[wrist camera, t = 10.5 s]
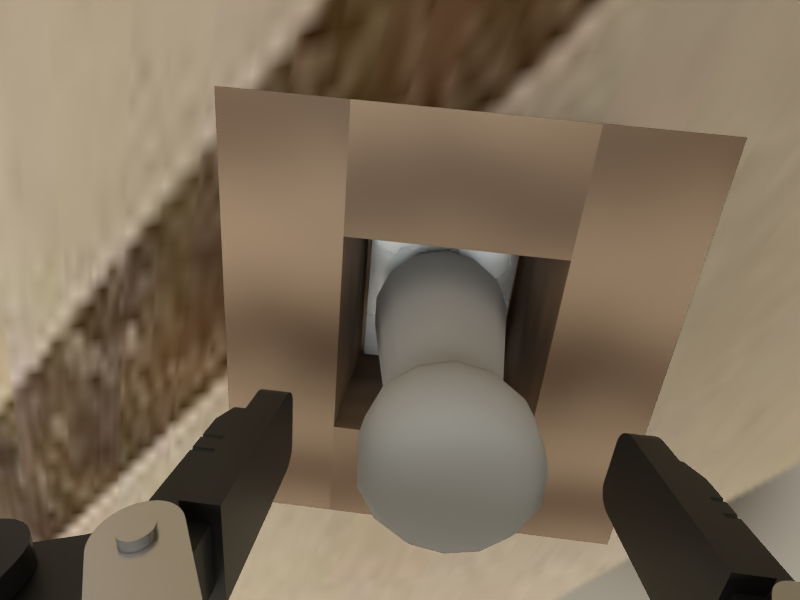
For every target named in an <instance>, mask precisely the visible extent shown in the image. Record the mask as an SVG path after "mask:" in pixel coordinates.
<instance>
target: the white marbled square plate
mask: <svg viewBox="0 0 800 600" xmlns="http://www.w3.org/2000/svg"><path fill="white" fill-rule="evenodd" d="M443 250H447V251H450V252H453V253H457V254H460V255H463V256H467V257H470V258H473V259H475V260H476V261H477V262H478V263H479V264H480V265H481V266H482V267H483V268H485V269H486V270H487V271H488V272H489V273H490V274H491V275H492V276H493V277H494V278H495V279H496V280H497V281H498V283H499V286H500V289H501V292H502V295H503V298H504V301H505V304H506V307H507V309H506V315H507V310H508V305H509V299H510V294H511V289H512V284H513V279H514V273H515V268H516V263H517V258H518V255H512V254H502V253H493V252H484V251H474V250H465V249H456V248H446V247H437V246H427V245H418V244H409V243H399V242H390V241H381V240H372V251H371V265H370V278H369V292H368V305H367V319H366V333H365V346H364V354H371V355H379V353H378V345H377V337H376V329H375V314H376V297H377V295H378V293H379V292H380V290H381V288H382V286H383V284H384V283H385V281H386V279H387V277H388V276H389V274H390V272H391V271H392V270H394V269H395V268H397V267H398V266H400V265H401V264H403V263H404V262H406V261H407V260H409V259H410V258H412V257H413V256H415V255H416V254H423V253H429V252H436V251H443Z"/></svg>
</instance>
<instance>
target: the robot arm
mask: <svg viewBox="0 0 800 600" xmlns="http://www.w3.org/2000/svg"><path fill="white" fill-rule="evenodd" d="M292 434H293V397H292V393H291V392H283V391H275V390H266V389H260V390H259V391H258V392H257V393H256V395H255V396H254V397H253V399H252V400H251V401H250V403H249V404H248V405H247V407H246V408H240V407H234V408H232V409H230V410H229V411H227V412H226V413H224V414H222V415H221V416H219V417H218V418H216V419H215V420H214V421H213V423H212V424H211V425H210V426H209V428H208V429H207V430H206V431H205V432H204V434H203V437H200V439H199V440H198V441H197V442H196V443H195V445H194V446H193V449H192V450H190V451H189V452H188V453H187V454H186V456H185V457H184V458H183V459H182V461H181V462H180V463H179V464H178V465H177V467H176V468H175V469H174V470H173V472H172V473H171V474H170V475H169V476H168V478H167V479H166V480H165V481H164V483H163V484H162V485H161V486H160V487H159V489H158V490H157V491H156V492H155V494H154V495H153V496H152V497H151V498H150V500H149V501H145V502H141V503H137V504H134V505H131V506H128V507H126V508H124V509H122V510H120V511H118V512H116V513H114V514H113V515H111V516H110V517H108V518H107V519H106V520H104V521H103V522H102V523H101V524H100V525H99V526H98V527H97V528H96V529H95V530H94V531H93V533H91V534H86V535H80V536H73V537H67V538H60V539H53V540H46V541H39V542H33V541H32V538H31V534H30V530H29V528H28V526H27V525H26V524H25V523H23V522H21V521H19V520H15V519H0V600H229V597H230V595H231V593H232V591H233V588H234V586H235V584H236V582H237V580H238V577H239V575H240V573H241V571H242V569H243V566H244V564H245V562H246V560H247V558H248V555H249V553H250V551H251V549H252V547H253V544H254V542H255V540H256V538H257V535H258V533H259V531H260V529H261V527H262V524H263V522H264V520H265V518H266V516H267V513H268V511H269V509H270V507H271V505H272V502H273V500H274V498H275V496H276V494H277V491H278V489H279V487H280V485H281V482H282V480H283V478H284V476H285V474H286V471H287V469H288V466H289V462H290V458H291V452H292ZM603 503H604V507H605V510H606V513H607V515H608V517H609V519H610V521H611V523H612V525H613V527H614V529H615V531H616V533H617V535H618V537H619V539H620V540H621V542H622V544H623V546H624V548H625V550H626V552H627V554H628V556H629V558H630V560H631V562H632V564H633V566H634V568H635V570H636V572H637V574H638V576H639V578H640V580H641V582H642V584H643V586H644V588H645V590H646V592H647V594H648V596H649V598H650V600H800V582H795V581H794V580H793V579H792V578H791V576H790V575H789V574H788V573H787V572H786V570H785V569H784V568H783V567H782V566H781V565H780V564H779V562H778V561H777V560H776V559H775V558H774V557H773V556H772V555H771V553H770V552H769V551H768V550H767V549H766V547H765V546H764V545H763V544H762V543H761V542H760V541H759V540H758V538H757V537H756V536H755V535H754V534H753V533H752V531H751V530H750V529H749V528H748V527H747V526H746V524H745V523H744V522H743V521H742V520H741V519H738V518H737V514H736V513H735V512H734V511H733V509H732V508H731V507H730V506H729V505H728V504H727V503H726V502H723V498H722V497H721V496H720V495H719V493H718V492H717V491H716V490H715V489H714V488H713V486H712V485H711V484H710V483H709V482H708V481H707V480H706V479H705V478H704V477H703V476H701V475H700V474H699V473H697V472H696V471H695V470H693V469H692V468H691V467H689V466H688V465H687V464H685V463H684V462H681V461H679V460H678V458H677V457H676V456H675V455H674V454H673V452H672V451H671V450H670V449H669V448H668V446H667V445H666V444H665V443H664V442H663V441H662V440H661V439H660V438H659V437H655V436H647V435H638V434H630V433H623V434H621V435H620V436H619V438H618V440H617V443H616V446H615V449H614V452H613V455H612V458H611V461H610V465H609V468H608V471H607V474H606V477H605V480H604V484H603Z"/></svg>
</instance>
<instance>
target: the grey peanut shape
mask: <svg viewBox="0 0 800 600" xmlns="http://www.w3.org/2000/svg"><path fill="white" fill-rule="evenodd" d="M506 309H507V307H506V304H505V301H504V298H503V295H502V292H501V289H500V286H499V283H498V281H497V280H496V279H495V278H494V277H493V276H492V275H491V274H490V273H489V272H488V271H487V270H486V269H485V268H483V267H482V266H481V265H480V264H479V263H478V262H477V261H476V260H475V259H473V258H470V257H467V256H463V255H460V254H457V253H453V252H450V251H447V250H443V251H436V252H429V253H423V254H416V255H415V256H413V257H412V258H410V259H409V260H407V261H406V262H404V263H403V264H401V265H400V266H398V267H397V268H395V269H394V270H392V271H391V272H390V274H389V276H388V277H387V279H386V281H385V283H384V284H383V286H382V288H381V290H380V292H379V293H378V295H377V297H376V314H375V329H376V337H377V345H378V353H379V360H380V368H381V376H382V384H383V387H382V389H381V391H380V392H379V394H378V395H377V397H376V399H375V400H374V402H373V404H372V405H371V407H370V409H369V410H368V412H367V414H366V415H365V417H364V420H363V423H362V425H361V428H360V431H359V440H358V462H357V488H358V490H359V492H360V493H361V495H362V497H363V499H364V501H365V502H366V504H367V506H368V508H369V510H370V511H371V513H372V515H373V517H374V518H375V519H376V520H377V521H379V522H380V523H381V524H383V525H384V526H385V527H387V528H388V529H389V530H390V531H392V532H393V533H394V534H396V535H397V536H398V537H400V538H401V539H402V540H404V541H405V542H407V543H409V544H411V545H415V546H419V547H422V548H426V549H430V550H433V551H437V552H441V553H458V552H476V551H481V550H483V549H485V548H487V547H489V546H492V545H494V544H496V543H498V542H500V541H502V540H505V539H507V538H509V537H511V536H512V535H514V534H515V533H517V532H518V531H519V530H520V529H521V527H522V526H523V525H524V524H525V523H526V522H527V521H528V520H529V519H530V518H531V517H532V515H533V514H534V513H535V512H536V511H537V510H538V509H539V508H540V507H541V505H542V500H543V495H544V490H545V485H546V480H547V475H548V465H547V457H546V450H545V447H544V444H543V441H542V438H541V436H540V433H539V430H538V427H537V424H536V421H535V418H534V415H533V413H532V411H531V409H530V407H529V405H528V403H527V401H526V400H525V399H524V398H523V397H522V396H521V395H520V394H518V393H517V392H516V391H515V390H514V389H513V388H511V387H510V386H509V385H508V384H507V383H506V382H504V381H503V375H504V353H505V331H506Z"/></svg>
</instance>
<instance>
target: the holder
mask: <svg viewBox="0 0 800 600" xmlns="http://www.w3.org/2000/svg"><path fill="white" fill-rule="evenodd" d="M215 108H216V129H217V151H218V173H219V195H220V216H221V238H222V260H223V282H224V304H225V325H226V347H227V369H228V391H229V410H230V409H232V408H234V407H240V408H246V407H247V405H248V404H249V403H250V401H251V400H252V399H253V397H254V396H255V395H256V393H257V392H258V391H259V390H260V389H266V390H275V391H283V392H291V393H292V397H293V434H292V452H291V458H290V462H289V466H288V469H287V471H286V474H285V476H284V478H283V480H282V482H281V485H280V487H279V489H278V491H277V494H276V496H275V498H274V500H273V502H276V503H284V504H292V505H300V506H308V507H315V508H323V509H331V510H339V511H347V512H355V513H363V514H371V515H372V513H371V511H370V510H369V508H368V506H367V504H366V502H365V501H364V499H363V497H362V495H361V493H360V492H359V490H358V488H357V462H358V440H359V431H360V428H361V425H362V423H363V420H364V417H365V415H366V414H367V412H368V410H369V409H370V407H371V405H372V404H373V402H374V400H375V399H376V397H377V395H378V394H379V392H380V391H381V389H382V387H383V384H382V376H381V368H380V360H379V355H371V354H364V346H365V333H366V319H367V305H368V292H369V278H370V265H371V251H372V240H381V241H390V242H399V243H409V244H418V245H427V246H437V247H446V248H456V249H465V250H474V251H484V252H493V253H502V254H512V255H518V258H517V263H516V268H515V273H514V279H513V284H512V289H511V294H510V299H509V305H508V310H507V315H506V331H505V353H504V375H503V381H504V382H506V383H507V384H508V385H509V386H510V387H511V388H513V389H514V390H515V391H516V392H517V393H518V394H520V395H521V396H522V397H523V398H524V399H525V400H526V401H527V403H528V405H529V407H530V409H531V411H532V413H533V415H534V418H535V421H536V424H537V427H538V430H539V433H540V436H541V438H542V441H543V444H544V447H545V450H546V457H547V465H548V475H547V480H546V485H545V490H544V495H543V500H542V505H541V507H540V508H539V509H538V510H537V511H536V512H535V513H534V514H533V515H532V517H531V518H530V519H529V520H528V521H527V522H526V523H525V524H524V525H523V526H522V527H521V529H520V530H519V531H518V532H517V533H521V534H529V535H537V536H545V537H553V538H560V539H568V540H576V541H584V542H592V543H600V544H608V541H609V538H610V535H611V532H612V529H613V525H612V523H611V521H610V519H609V517H608V515H607V513H606V510H605V507H604V503H603V484H604V480H605V477H606V474H607V471H608V468H609V465H610V461H611V458H612V455H613V452H614V449H615V446H616V443H617V440H618V438H619V436H620V435H621V434H623V433H630V434H638V435H645V433H646V430H647V427H648V425H649V422H650V419H651V416H652V413H653V410H654V407H655V404H656V401H657V398H658V395H659V393H660V390H661V387H662V384H663V381H664V378H665V375H666V372H667V369H668V366H669V363H670V361H671V358H672V355H673V352H674V349H675V346H676V343H677V340H678V337H679V334H680V331H681V329H682V326H683V323H684V320H685V317H686V314H687V311H688V308H689V305H690V302H691V300H692V297H693V294H694V291H695V288H696V285H697V282H698V279H699V276H700V273H701V270H702V268H703V265H704V262H705V259H706V256H707V253H708V250H709V247H710V244H711V241H712V238H713V236H714V233H715V230H716V227H717V224H718V221H719V218H720V215H721V212H722V209H723V206H724V204H725V201H726V198H727V195H728V192H729V189H730V186H731V183H732V180H733V177H734V174H735V172H736V169H737V166H738V163H739V160H740V157H741V154H742V151H743V148H744V145H745V143H746V140H747V138H746V137H736V136H725V135H715V134H705V133H694V132H684V131H674V130H663V129H653V128H643V127H632V126H622V125H612V124H601V123H591V122H581V121H571V120H560V119H550V118H540V117H529V116H519V115H509V114H498V113H488V112H478V111H467V110H457V109H447V108H437V107H426V106H416V105H406V104H395V103H385V102H375V101H364V100H354V99H344V98H333V97H323V96H313V95H302V94H292V93H282V92H272V91H261V90H251V89H241V88H230V87H220V86H215Z"/></svg>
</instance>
